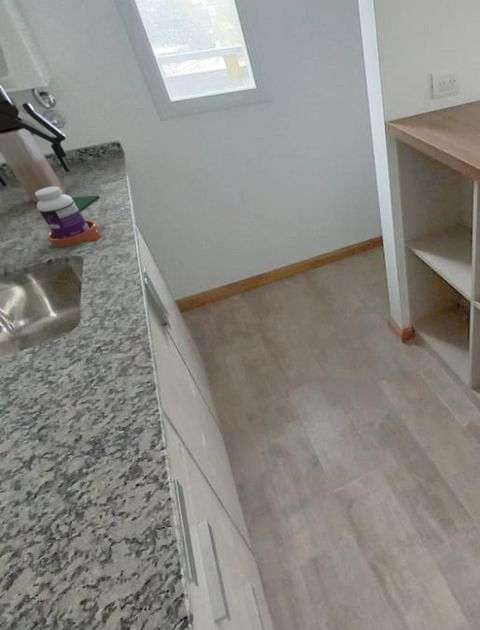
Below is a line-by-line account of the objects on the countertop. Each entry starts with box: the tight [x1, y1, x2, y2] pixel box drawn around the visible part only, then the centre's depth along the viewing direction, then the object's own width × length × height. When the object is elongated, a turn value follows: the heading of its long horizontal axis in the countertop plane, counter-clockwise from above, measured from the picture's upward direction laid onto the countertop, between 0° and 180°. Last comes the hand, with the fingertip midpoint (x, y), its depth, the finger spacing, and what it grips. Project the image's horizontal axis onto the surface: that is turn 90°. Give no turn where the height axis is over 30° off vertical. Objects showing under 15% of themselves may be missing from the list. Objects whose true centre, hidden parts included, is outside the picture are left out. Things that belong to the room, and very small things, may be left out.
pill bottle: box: [35, 186, 90, 239], centre depth 119 cm, size 8×8×14 cm
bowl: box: [46, 219, 102, 248], centre depth 122 cm, size 12×12×4 cm
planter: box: [0, 125, 67, 204], centre depth 145 cm, size 10×10×23 cm
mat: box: [71, 195, 100, 213], centre depth 144 cm, size 12×12×1 cm
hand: (37, 177), depth 112 cm, fingers open, 13 cm apart
